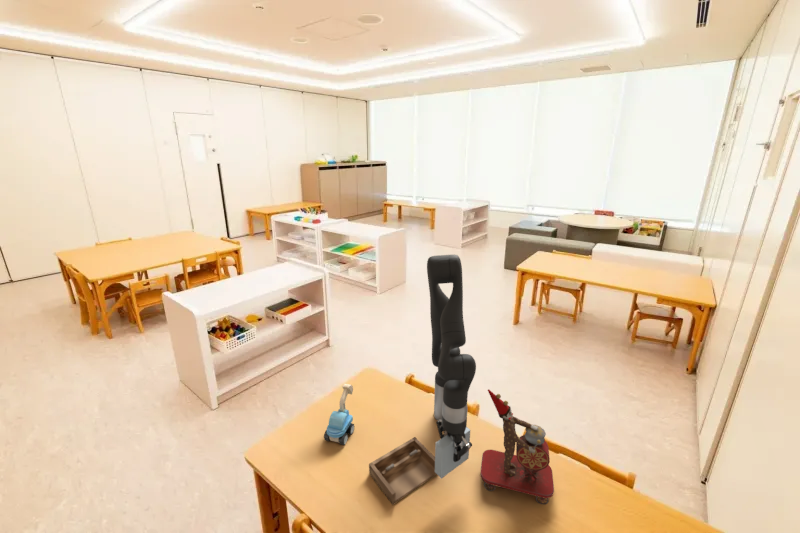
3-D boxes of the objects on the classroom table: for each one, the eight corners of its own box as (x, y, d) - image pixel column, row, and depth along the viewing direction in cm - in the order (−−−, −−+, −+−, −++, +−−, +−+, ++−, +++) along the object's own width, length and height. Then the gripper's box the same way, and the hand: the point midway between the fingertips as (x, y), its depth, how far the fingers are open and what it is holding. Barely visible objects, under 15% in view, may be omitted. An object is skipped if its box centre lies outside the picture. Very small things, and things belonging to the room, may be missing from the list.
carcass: (414, 446, 135) (414, 435, 134) (439, 472, 125) (440, 461, 123) (369, 473, 124) (368, 462, 123) (392, 505, 114) (392, 493, 112)
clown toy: (552, 509, 112) (569, 419, 100) (478, 490, 118) (486, 403, 107) (549, 474, 124) (563, 389, 112) (482, 458, 130) (489, 376, 119)
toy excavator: (362, 418, 149) (360, 384, 143) (343, 449, 134) (340, 412, 129) (343, 413, 152) (341, 379, 146) (323, 443, 137) (319, 407, 131)
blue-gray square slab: (461, 452, 119) (463, 424, 115) (468, 458, 117) (470, 430, 113) (434, 471, 113) (435, 442, 108) (441, 478, 110) (442, 449, 106)
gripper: (480, 421, 104) (477, 465, 110) (447, 395, 115) (445, 436, 121) (462, 433, 100) (459, 478, 106) (429, 405, 111) (428, 447, 117)
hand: (452, 456), depth 114 cm, fingers closed on blue-gray square slab, 3 cm apart
